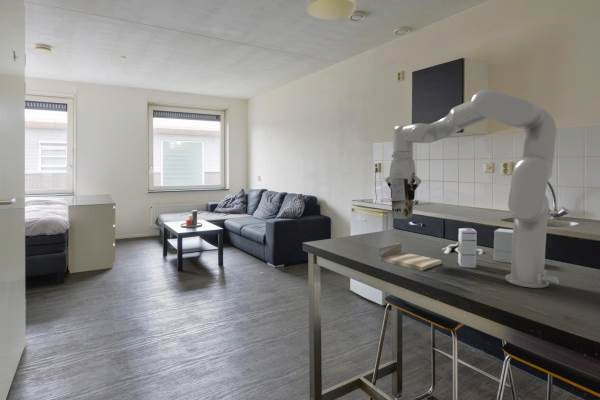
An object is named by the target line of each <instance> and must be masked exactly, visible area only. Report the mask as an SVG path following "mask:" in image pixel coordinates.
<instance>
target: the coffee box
mask: <svg viewBox="0 0 600 400" xmlns="http://www.w3.org/2000/svg"><path fill="white" fill-rule="evenodd" d="M409 190H410V189H409V184H408V179H392V199H391V218H392V219H398V220H408V219H410V218H412V217H413V215H414V214H413V212H414V210H413V207H414V206H413V205H414V202H413V201H414V200H408V194H409Z"/></svg>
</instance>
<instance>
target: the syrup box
mask: <svg viewBox="0 0 600 400" xmlns="http://www.w3.org/2000/svg"><path fill="white" fill-rule="evenodd" d="M477 235H478V233H477V230H476V229H474V228H471V227H463V228H458V240H457V241H458V242H457V243H458V253H457V264H458V265H459V267H460V268H471V269H473V268H474V269H475V268H477V253H476V249H477V246H478V245H477V241H478V239H477V237H478V236H477Z"/></svg>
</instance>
